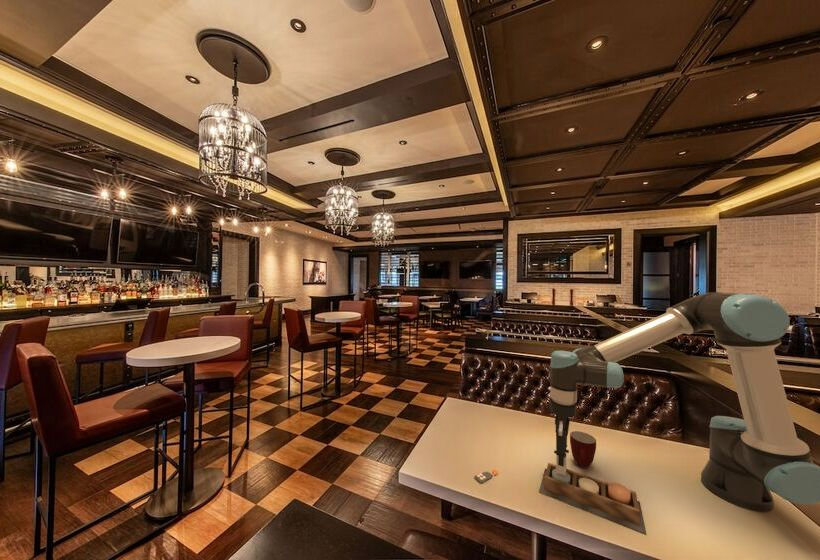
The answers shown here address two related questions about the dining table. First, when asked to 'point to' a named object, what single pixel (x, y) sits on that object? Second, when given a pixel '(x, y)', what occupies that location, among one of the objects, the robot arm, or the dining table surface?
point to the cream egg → (589, 485)
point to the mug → (582, 448)
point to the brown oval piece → (619, 493)
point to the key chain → (485, 476)
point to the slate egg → (561, 477)
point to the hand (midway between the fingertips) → (561, 473)
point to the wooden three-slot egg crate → (593, 499)
